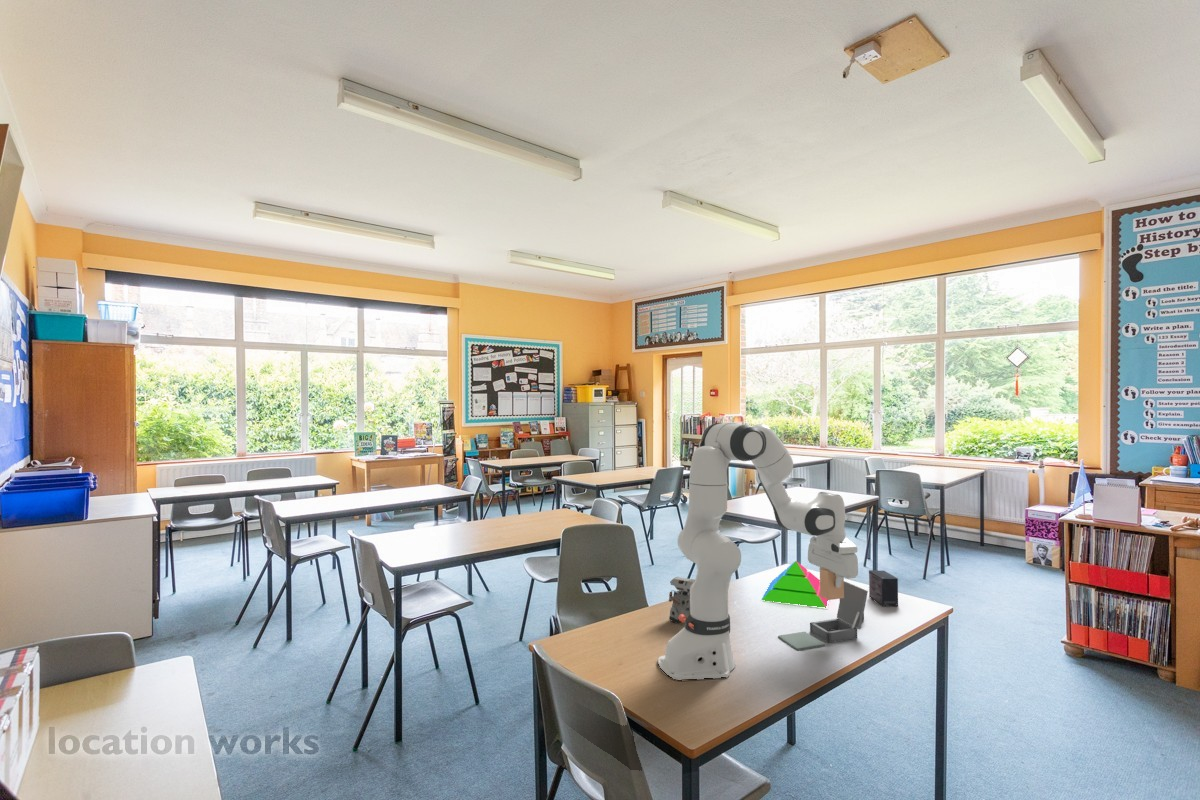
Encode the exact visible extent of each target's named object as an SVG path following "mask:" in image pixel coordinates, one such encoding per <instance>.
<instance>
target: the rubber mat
mask: <svg viewBox="0 0 1200 800" xmlns="http://www.w3.org/2000/svg"><path fill="white" fill-rule="evenodd" d="M777 637H778V639H779V640H781V641H783V642H784V643H786V644H787V645H789V646H791V648H793V649H794V650H796V651H802V650H808V649H813V648H814V649H815V648H821V647H825V646H826V644H825V643H824V642H823V641H821V640H820V639H818V638H816V637H815V636H813V635H811V634H809V633H808V632H807V631H800V632H793V633H788V634H787V633H786V634H781V635H780V634H779V635H778V636H777Z"/></svg>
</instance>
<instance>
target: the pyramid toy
mask: <svg viewBox="0 0 1200 800" xmlns="http://www.w3.org/2000/svg"><path fill="white" fill-rule="evenodd" d="M771 581H772V582H771ZM771 581H770V582H771V583H770V582H769V584H770V585H768V586H769V587H767V588H768V589H767V588H766V590H767V591H765V592H764V594H763V595H762V598H761V600H765V601H764V602H766V601H772V602H771V603H774V602H781V603H790V604H798V605H799V604H800V605H807V606H817V607H825V608H826V606H827V601H828V600H827V599H825V598H823V597H821V596H820V578H819V577H817V576H815V574H813V573H812V572H810V571H809V570H808V569H807V568H806V567H804V566H803V565H802V564H801V563H800V562H798V561H797V560H794V562H792V563H791V564H790V565H789V566H788V567H786V568H785V569H784V570H783V571H782V572H781V573H780V574H779V575H778V576H776V577H775V578H774V579H772V580H771ZM773 601H774V602H773ZM781 603H780V604H781Z"/></svg>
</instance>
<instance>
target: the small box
mask: <svg viewBox="0 0 1200 800" xmlns="http://www.w3.org/2000/svg"><path fill="white" fill-rule="evenodd" d="M868 579H869V580H868V583H869V584H868V585H869V586H868V593H869V594H868V597H869V598H870V597H871V598H872V600H873V601H874V600H875V601H876V602H875V601H874V602H875V603H876V604H878V605H880V606H881V607H899V585H898V584H899V578H898V577H896V576H894V575H893V574H891V573H890V572H888V571H885V570H876V569H875V570H872V569H870V570H868ZM871 598H870V599H871Z"/></svg>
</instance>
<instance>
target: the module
mask: <svg viewBox="0 0 1200 800" xmlns="http://www.w3.org/2000/svg"><path fill="white" fill-rule="evenodd" d="M836 578H837V577H836V576H835V573H833V572H831V571H829V570H826V569H824V568H820V567H819V580H820V596H821V597H823V598H825V599H827V600H829V601H831V600H832V601H833V600H838V599H839V600H840V599H841V598H844V580H845V579H844V578H845V577H844V578H843V580H842V582H841V587H839V588H837V587H835V586H834V581H836Z"/></svg>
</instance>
